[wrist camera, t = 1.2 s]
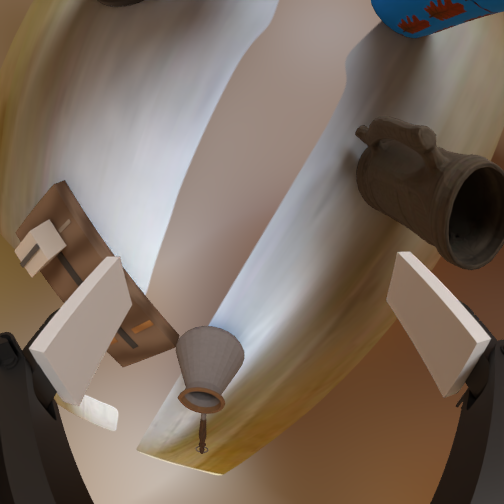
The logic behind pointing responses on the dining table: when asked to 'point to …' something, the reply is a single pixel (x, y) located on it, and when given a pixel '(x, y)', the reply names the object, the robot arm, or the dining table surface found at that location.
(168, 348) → the fader panel
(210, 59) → the dining table surface
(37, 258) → the fader knob
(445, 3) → the thermos
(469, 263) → the beer stein
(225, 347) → the coffee pot
